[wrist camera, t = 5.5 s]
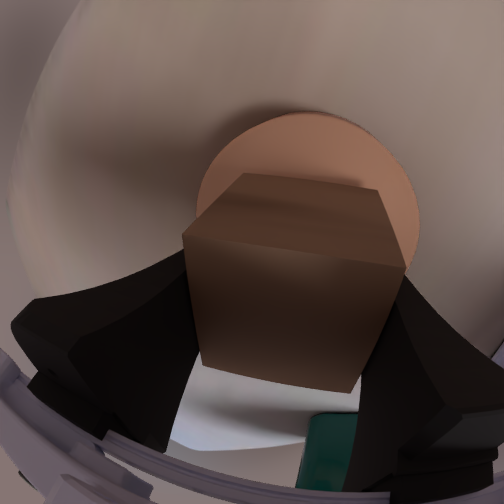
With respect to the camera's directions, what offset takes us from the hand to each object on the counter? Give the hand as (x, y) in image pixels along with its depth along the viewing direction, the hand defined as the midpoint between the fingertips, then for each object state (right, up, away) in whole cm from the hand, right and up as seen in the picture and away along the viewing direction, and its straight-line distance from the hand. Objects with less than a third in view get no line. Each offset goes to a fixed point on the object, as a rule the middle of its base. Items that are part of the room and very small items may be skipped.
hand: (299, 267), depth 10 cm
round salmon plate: (+2, +3, +5) cm, 6 cm away
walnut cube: (0, +1, +1) cm, 2 cm away
